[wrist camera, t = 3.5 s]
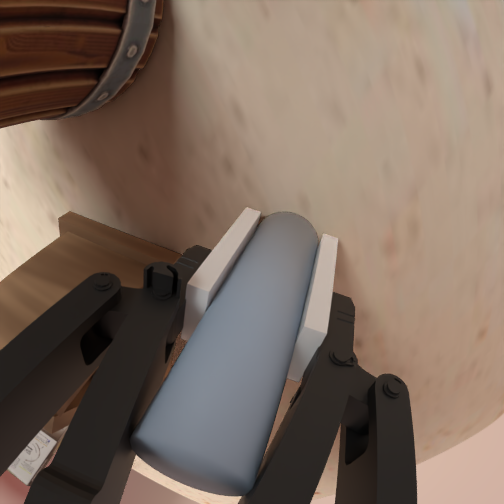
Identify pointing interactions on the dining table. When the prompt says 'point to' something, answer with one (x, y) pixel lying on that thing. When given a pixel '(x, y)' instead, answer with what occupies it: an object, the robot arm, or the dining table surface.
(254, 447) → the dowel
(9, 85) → the mug
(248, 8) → the dining table surface
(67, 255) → the socket block
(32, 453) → the coffee box
